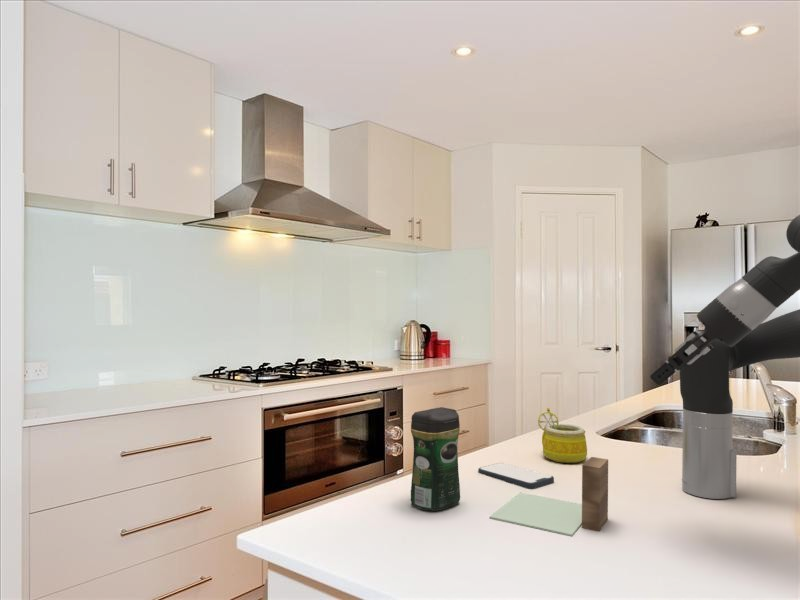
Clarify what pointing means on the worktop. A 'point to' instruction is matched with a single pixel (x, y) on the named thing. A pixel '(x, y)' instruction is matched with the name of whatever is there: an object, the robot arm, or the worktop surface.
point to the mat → (541, 513)
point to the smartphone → (517, 475)
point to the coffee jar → (435, 459)
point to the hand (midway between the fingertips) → (655, 380)
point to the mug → (563, 441)
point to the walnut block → (594, 493)
